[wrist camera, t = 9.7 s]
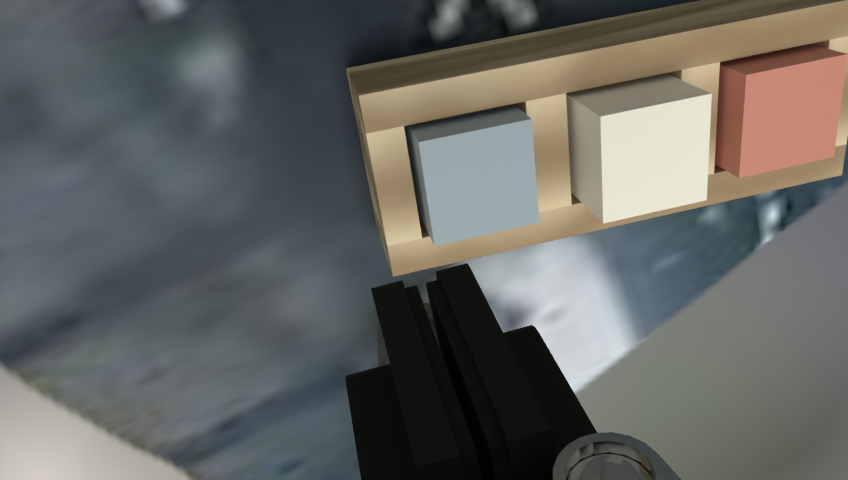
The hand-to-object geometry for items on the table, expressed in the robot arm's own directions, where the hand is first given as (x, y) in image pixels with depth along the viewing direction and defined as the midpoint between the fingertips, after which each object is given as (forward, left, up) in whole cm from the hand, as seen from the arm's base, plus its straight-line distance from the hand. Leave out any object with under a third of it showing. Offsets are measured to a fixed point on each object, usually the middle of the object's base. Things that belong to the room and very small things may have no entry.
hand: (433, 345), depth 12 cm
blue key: (+5, +5, -22) cm, 23 cm away
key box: (+5, +13, -25) cm, 29 cm away
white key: (+5, +13, -21) cm, 25 cm away
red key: (+5, +20, -22) cm, 30 cm away
